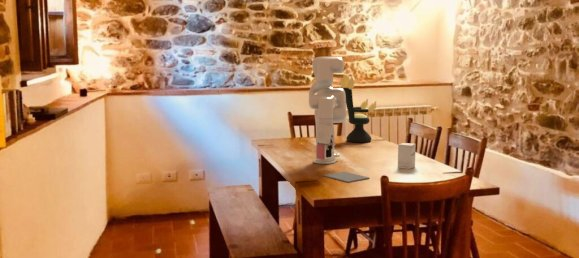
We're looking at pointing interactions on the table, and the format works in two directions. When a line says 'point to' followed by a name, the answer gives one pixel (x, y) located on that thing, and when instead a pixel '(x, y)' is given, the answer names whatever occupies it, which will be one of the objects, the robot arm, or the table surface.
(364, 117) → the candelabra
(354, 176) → the mat
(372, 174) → the table surface
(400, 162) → the supplement box
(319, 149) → the card box
